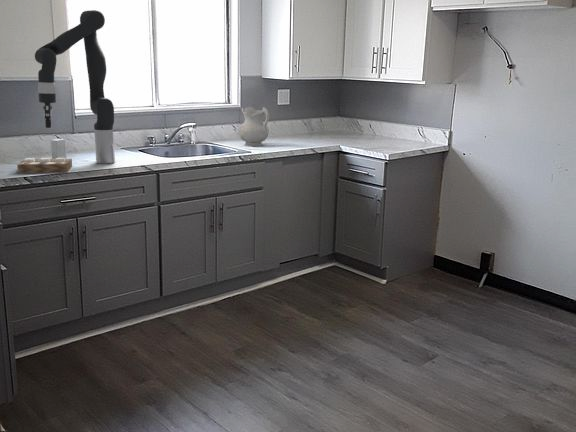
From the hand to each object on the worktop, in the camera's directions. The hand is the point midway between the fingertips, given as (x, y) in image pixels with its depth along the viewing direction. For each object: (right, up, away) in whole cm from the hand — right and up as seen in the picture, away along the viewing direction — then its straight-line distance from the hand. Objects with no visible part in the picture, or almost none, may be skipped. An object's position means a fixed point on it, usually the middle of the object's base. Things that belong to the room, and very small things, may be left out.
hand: (48, 127), depth 291 cm
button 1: (-10, -17, +2) cm, 20 cm away
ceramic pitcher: (+93, +3, +100) cm, 137 cm away
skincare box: (-4, -15, +24) cm, 29 cm away
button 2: (+4, -16, +5) cm, 18 cm away
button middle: (-3, -17, +3) cm, 17 cm away
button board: (-3, -20, +4) cm, 21 cm away
